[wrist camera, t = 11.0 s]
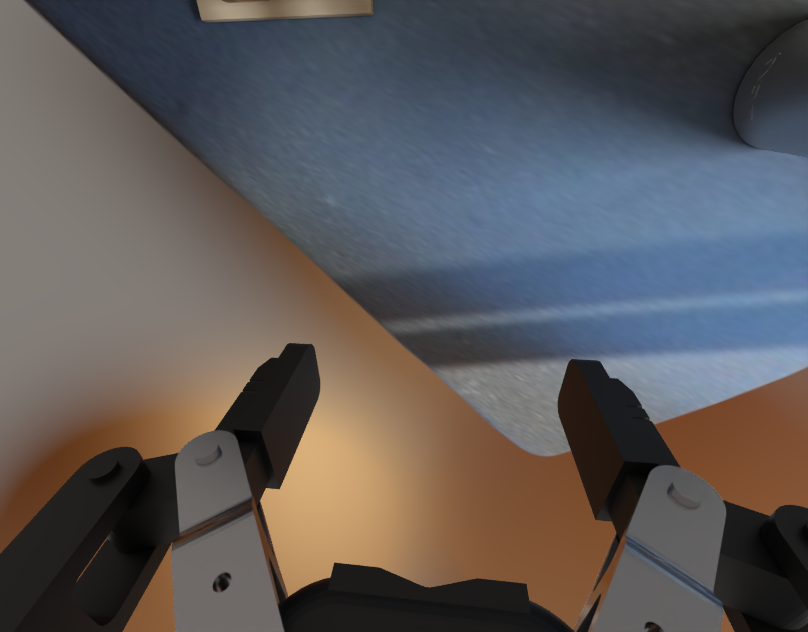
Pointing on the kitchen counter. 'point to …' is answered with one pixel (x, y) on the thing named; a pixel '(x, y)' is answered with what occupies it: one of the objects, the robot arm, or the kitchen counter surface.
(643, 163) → the kitchen counter surface
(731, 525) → the robot arm
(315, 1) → the frame
